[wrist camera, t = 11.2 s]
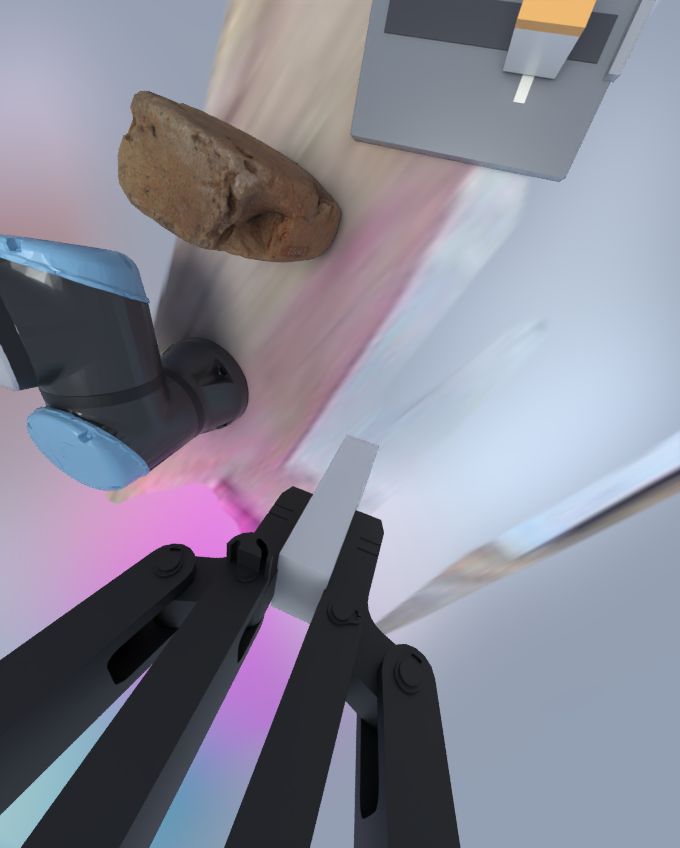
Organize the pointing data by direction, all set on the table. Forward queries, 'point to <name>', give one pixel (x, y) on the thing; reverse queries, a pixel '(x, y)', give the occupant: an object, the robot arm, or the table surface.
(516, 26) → the fader tab
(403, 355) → the table surface
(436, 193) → the table surface
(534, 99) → the console board
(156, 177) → the brown rounded upright piece
